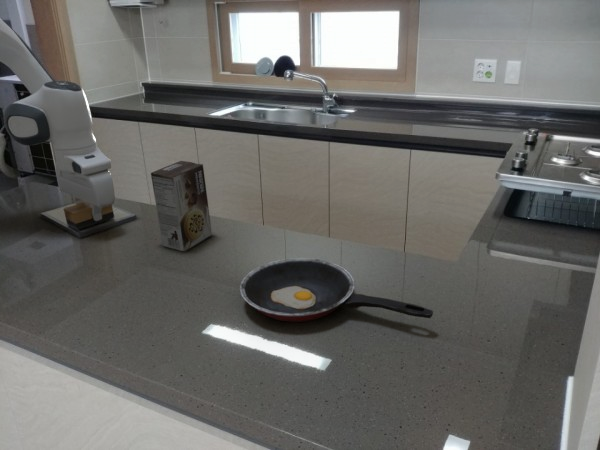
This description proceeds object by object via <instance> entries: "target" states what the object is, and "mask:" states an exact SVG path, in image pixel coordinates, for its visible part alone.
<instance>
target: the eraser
mask: <svg viewBox="0 0 600 450" xmlns="http://www.w3.org/2000/svg"><path fill="white" fill-rule="evenodd" d="M112 205H113V204H112ZM112 205H109V206H106V207H103V208H102V211H101V214H102V219H101V220H98V221H95V220H93V219H92V216H91V212H92V207H91V205H90V203H88V202H83V203H80V204H77V205H73V206H70V207H67V208H64V213H65V217H66V221H67V225H69V226H71V227H73V228H74V229H76V230H79V229H82V228H85V227H88V226H91V225H94V224H97V223H100V222H103V221H105V220H108V219H111V218H114V213H113V208H112Z"/></svg>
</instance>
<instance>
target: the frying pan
mask: <svg viewBox="0 0 600 450" xmlns="http://www.w3.org/2000/svg"><path fill="white" fill-rule="evenodd" d="M239 290H240V295H241V297H242V298H243V300H244V301H245V302H246V303H247V304H248V305H250V306H251V307H253V308H254V309H255V310H256V311H257V312H259V313H261V314H263V315H264V316H266V317H268V318H271V319H273V320H276V321H280V322H281V321H282V322H288V323H303V322H308V321H309V322H310V321H314V320H318V319H320V318H323V317H325V316H327V315H328V314H330V313H332V312H333V311H335V310H336V309H338V308H339V307H344V308H345V309H356V308H362V307H363V308H376V309H377V308H379V309H385V310H387V311H388V310H389V311H392V312H395V313H398V314H402V315H407V316H412V317H415V318H425V319H431V318H432V317H433V315H434V310H433V309H429V308H426V307H423V306H421V305H418V304H414V303H409V302H404V301H399V300H394V299H389V298H386V297H378V296H371V295H366V294H361V293H353V292H354V290H355V280H354V278H353V276H352V274H351V273H350V272H349V271H348V270H346V269H345V267H342V266H341V265H338V264H336V263H333V262H331V261H327V260H325V259H324V260H323V259H318V258H309V257H308V258H307V257H294V258H293V257H292V258H285V259H279V260H273V261H271V262H270V261H269V262H267V263H264V264H262V265H260V266H258V267H256V268H254V269H253V270H251V271H250V272H248V273H247V275H245V276H244V277H243V279H242V280H241V282H240V286H239ZM352 293H353V294H352Z"/></svg>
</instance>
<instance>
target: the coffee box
mask: <svg viewBox="0 0 600 450" xmlns="http://www.w3.org/2000/svg"><path fill="white" fill-rule="evenodd" d="M150 177H151V178H150V179H151V183H152V189H153V195H154V202H155V207H156V213H157V220H158V226H159V232H160V239H161V244H162V247H165V248H169V249H173V250H177V251H180V252H186V251H187V250H189V249H191V248H193V247H195V246H196V245H197V244H199V243H201V242H203V241H204V240H206V239H207V238H209V237H211V236H212V235H213V231H212V223H211V216H210V208H209V199H208V193H207V192H208V191H207V184H206V177H205V169H204V164H202V163H196V162H193V161H187V160H186V161H185V160H179V161H176V162H174V163H172V164H169V165H167V166H164V167H162V168H159V169H156V170H154V171H152V172H150Z"/></svg>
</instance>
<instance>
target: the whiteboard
mask: <svg viewBox="0 0 600 450" xmlns="http://www.w3.org/2000/svg"><path fill="white" fill-rule="evenodd" d="M73 205H76V204H75V202H74V203H71V204H67V205H63V206H60V207H57V208H54V209H50V210H47V211H43V212H40V215H41V216H40V217H41V218H42V219H45V220H46V221H48V222H50V223H51V224H54V225H55V226H57V227H59V228H61V229H63V230H65V231H67V232H68V233H70V234H72V235H73V236H76V238H79V239H82V238H85V237H87V236H91V235H94V234H96V233H100V232H102V231H105V230H108V229H111V228H114V227H117V226H119V225H122V224H123V225H124V224H126V223H128V222H131V221H133V220H134V221H135V220H137V215H136V213H134V212H130V211H128V210H126V209H123V208H122V207H119V206H116V205H114V204H112V208H113V213H114V218H111V219H108V220H105V221H103V222H100V223H97V224H94V225H91V226H88V227H85V228H82V229H79V230H76V229H74V228H73V227H71V226H69V225H67V221H66V217H65V213H64V208H67V207H70V206H73Z"/></svg>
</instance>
